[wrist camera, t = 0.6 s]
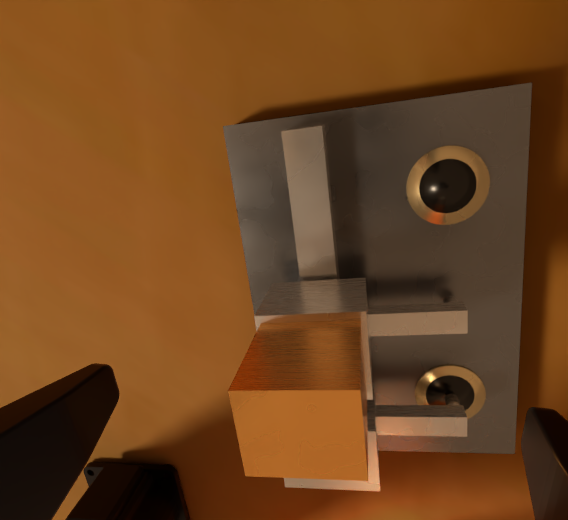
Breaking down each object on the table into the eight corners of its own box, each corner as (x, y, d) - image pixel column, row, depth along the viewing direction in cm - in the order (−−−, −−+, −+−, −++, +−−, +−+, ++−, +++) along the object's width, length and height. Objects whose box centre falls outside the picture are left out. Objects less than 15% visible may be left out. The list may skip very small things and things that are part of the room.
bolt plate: (505, 432, 22) (552, 538, 17) (281, 428, 24) (258, 519, 19) (518, 85, 17) (593, 71, 11) (233, 125, 19) (181, 130, 14)
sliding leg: (457, 338, 19) (524, 496, 11) (286, 343, 20) (240, 483, 13) (457, 262, 18) (530, 378, 10) (276, 274, 19) (219, 381, 12)
